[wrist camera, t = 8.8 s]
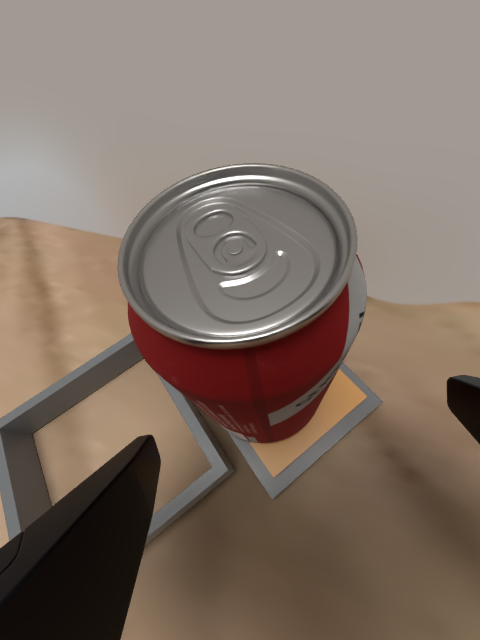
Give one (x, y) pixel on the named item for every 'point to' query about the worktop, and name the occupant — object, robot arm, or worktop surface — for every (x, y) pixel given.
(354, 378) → the lid
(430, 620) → the worktop surface
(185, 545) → the worktop surface
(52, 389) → the case
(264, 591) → the worktop surface
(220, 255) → the soda can
